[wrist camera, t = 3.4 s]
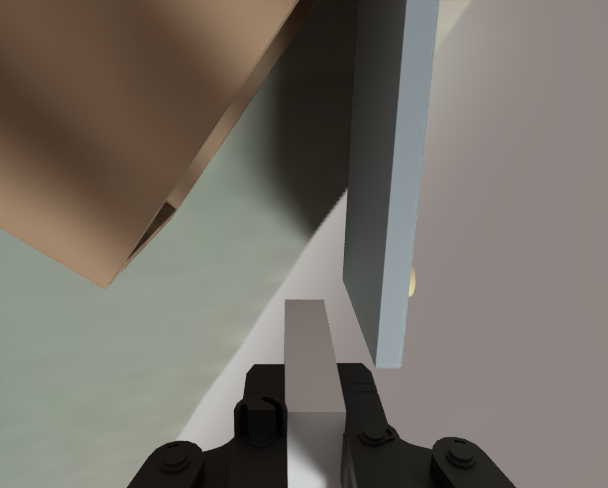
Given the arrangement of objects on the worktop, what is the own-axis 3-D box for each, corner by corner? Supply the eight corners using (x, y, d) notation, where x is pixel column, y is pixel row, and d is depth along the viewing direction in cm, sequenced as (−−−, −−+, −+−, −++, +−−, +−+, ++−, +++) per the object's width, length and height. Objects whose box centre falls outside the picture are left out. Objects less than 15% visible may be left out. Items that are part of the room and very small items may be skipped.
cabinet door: (360, -45, 25) (419, -151, 15) (409, -42, 25) (501, -145, 15) (342, 279, 31) (375, 368, 21) (382, 279, 31) (434, 367, 21)
